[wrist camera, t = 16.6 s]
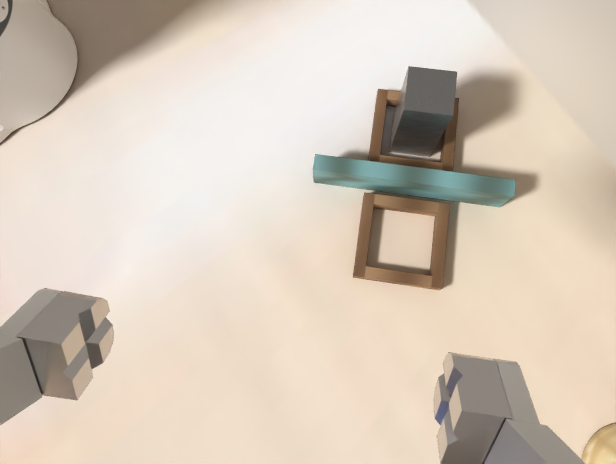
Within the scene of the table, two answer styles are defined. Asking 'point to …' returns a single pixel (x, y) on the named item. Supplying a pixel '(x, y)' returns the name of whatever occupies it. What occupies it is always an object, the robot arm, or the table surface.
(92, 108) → the table surface
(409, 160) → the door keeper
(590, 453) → the hand bell
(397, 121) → the gray block
